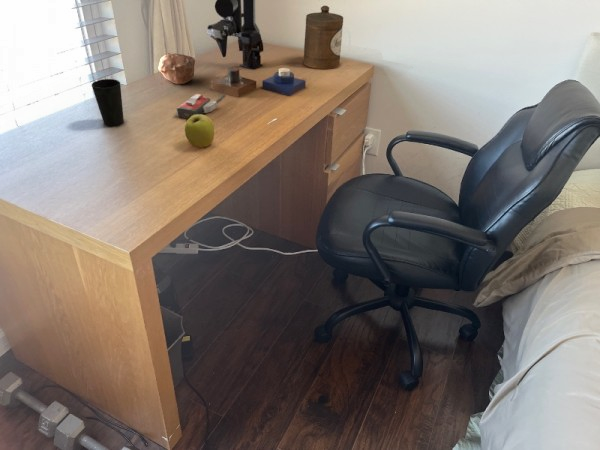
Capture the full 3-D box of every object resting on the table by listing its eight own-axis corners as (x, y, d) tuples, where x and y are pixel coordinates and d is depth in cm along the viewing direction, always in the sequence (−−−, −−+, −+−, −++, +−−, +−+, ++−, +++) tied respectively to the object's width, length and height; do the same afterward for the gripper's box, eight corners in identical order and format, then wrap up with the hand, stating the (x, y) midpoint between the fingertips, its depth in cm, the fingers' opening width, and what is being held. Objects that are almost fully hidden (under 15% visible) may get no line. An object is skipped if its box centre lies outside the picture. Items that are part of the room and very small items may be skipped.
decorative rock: (161, 87, 167) (157, 58, 161) (158, 77, 175) (154, 49, 170) (199, 84, 171) (196, 56, 165) (194, 74, 179) (192, 47, 173)
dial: (225, 81, 166) (225, 68, 163) (233, 78, 169) (232, 65, 166) (234, 83, 164) (234, 71, 162) (242, 80, 167) (241, 68, 164)
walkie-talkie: (199, 122, 144) (227, 99, 160) (198, 108, 142) (226, 87, 157) (174, 118, 146) (203, 96, 162) (172, 104, 144) (202, 83, 159)
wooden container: (340, 70, 190) (345, 10, 177) (303, 68, 189) (305, 9, 176) (338, 58, 202) (343, 2, 189) (303, 57, 201) (305, 1, 188)
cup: (132, 120, 144) (125, 81, 137) (117, 130, 138) (108, 89, 131) (111, 116, 146) (103, 77, 139) (94, 125, 140) (85, 85, 133)
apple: (210, 131, 137) (210, 103, 130) (217, 150, 133) (216, 123, 125) (183, 134, 135) (180, 106, 127) (188, 154, 131) (186, 126, 123)
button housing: (262, 88, 170) (262, 74, 167) (278, 80, 177) (278, 67, 174) (290, 95, 165) (290, 81, 162) (305, 87, 172) (306, 74, 169)
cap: (276, 75, 168) (276, 69, 167) (282, 72, 171) (282, 67, 169) (285, 78, 166) (285, 72, 165) (292, 75, 169) (292, 69, 168)
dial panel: (212, 89, 167) (211, 80, 166) (230, 81, 174) (229, 73, 172) (238, 97, 162) (238, 88, 160) (256, 89, 169) (256, 80, 167)
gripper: (193, 10, 152) (198, 59, 161) (239, 19, 144) (241, 71, 153) (216, 4, 159) (219, 52, 168) (261, 13, 151) (262, 62, 161)
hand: (234, 59), depth 162 cm, fingers open, 9 cm apart
